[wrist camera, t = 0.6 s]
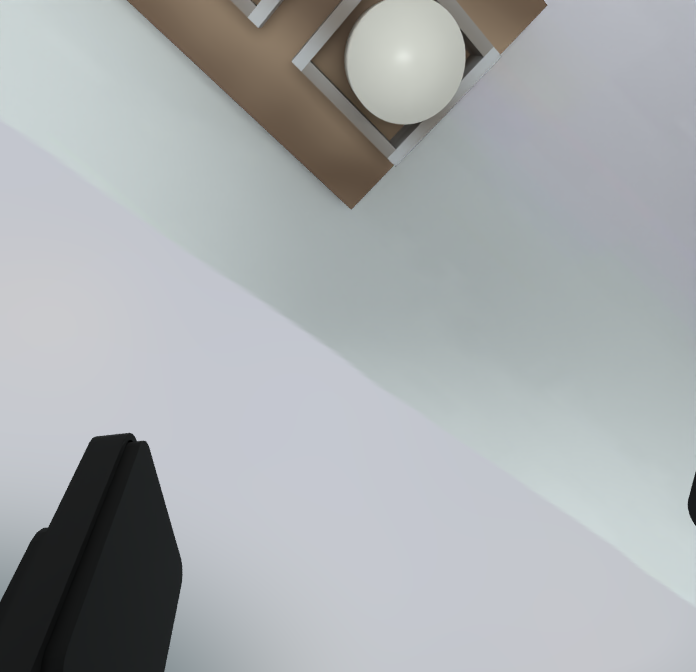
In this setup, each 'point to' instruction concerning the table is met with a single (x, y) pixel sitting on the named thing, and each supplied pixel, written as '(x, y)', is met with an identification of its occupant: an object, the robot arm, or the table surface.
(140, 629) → the robot arm
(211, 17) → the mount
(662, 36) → the table surface
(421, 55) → the button
